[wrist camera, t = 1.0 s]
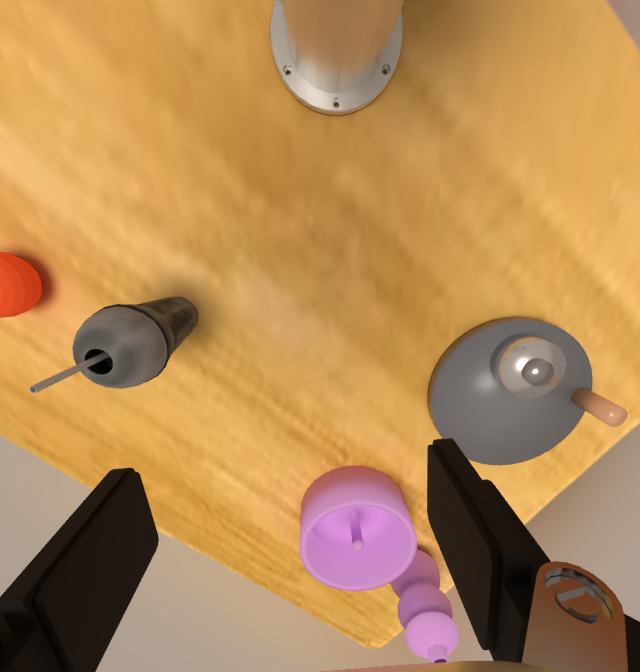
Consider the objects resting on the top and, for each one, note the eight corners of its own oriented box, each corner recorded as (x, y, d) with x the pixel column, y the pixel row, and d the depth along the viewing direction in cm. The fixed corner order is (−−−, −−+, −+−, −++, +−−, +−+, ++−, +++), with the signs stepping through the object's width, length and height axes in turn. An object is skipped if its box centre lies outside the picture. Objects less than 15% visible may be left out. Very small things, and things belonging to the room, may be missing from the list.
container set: (279, 507, 48) (268, 603, 35) (358, 446, 45) (376, 526, 33) (386, 596, 54) (409, 706, 41) (461, 546, 51) (511, 648, 38)
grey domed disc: (434, 318, 40) (459, 334, 33) (595, 315, 40) (651, 330, 34) (422, 457, 46) (441, 495, 39) (563, 453, 46) (605, 490, 39)
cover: (493, 333, 39) (513, 344, 35) (552, 332, 39) (578, 343, 35) (486, 387, 41) (504, 403, 37) (541, 386, 41) (565, 401, 37)
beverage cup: (213, 342, 40) (124, 437, 21) (154, 345, 40) (11, 443, 21) (204, 283, 38) (97, 329, 19) (142, 286, 38) (-29, 335, 19)
